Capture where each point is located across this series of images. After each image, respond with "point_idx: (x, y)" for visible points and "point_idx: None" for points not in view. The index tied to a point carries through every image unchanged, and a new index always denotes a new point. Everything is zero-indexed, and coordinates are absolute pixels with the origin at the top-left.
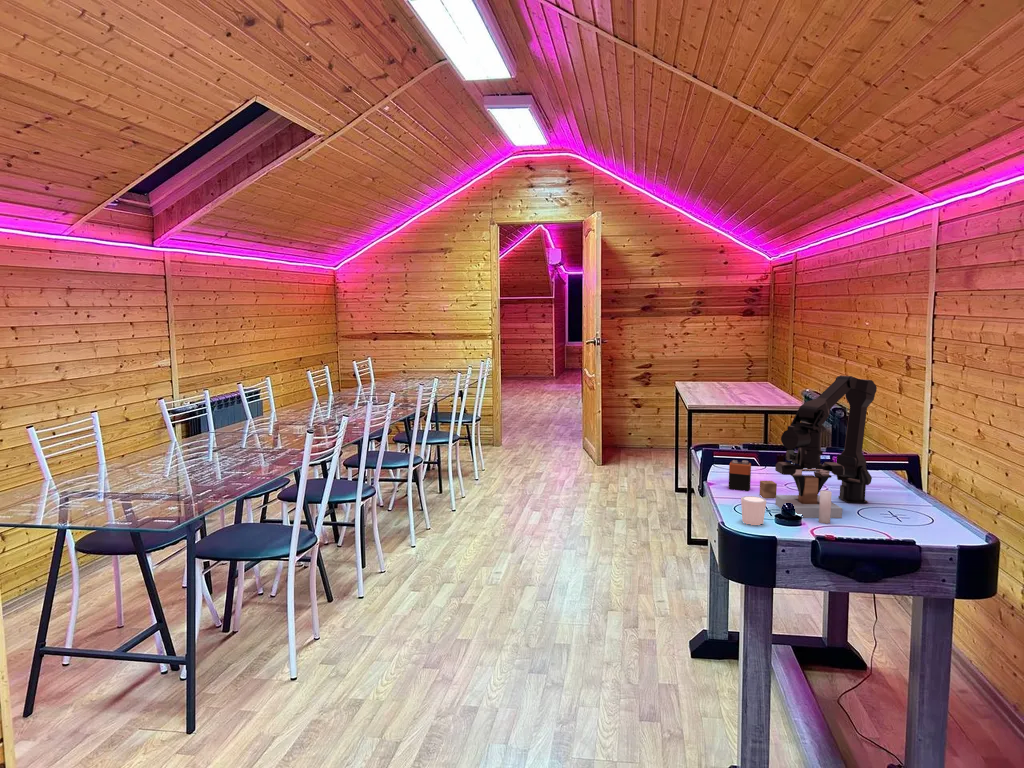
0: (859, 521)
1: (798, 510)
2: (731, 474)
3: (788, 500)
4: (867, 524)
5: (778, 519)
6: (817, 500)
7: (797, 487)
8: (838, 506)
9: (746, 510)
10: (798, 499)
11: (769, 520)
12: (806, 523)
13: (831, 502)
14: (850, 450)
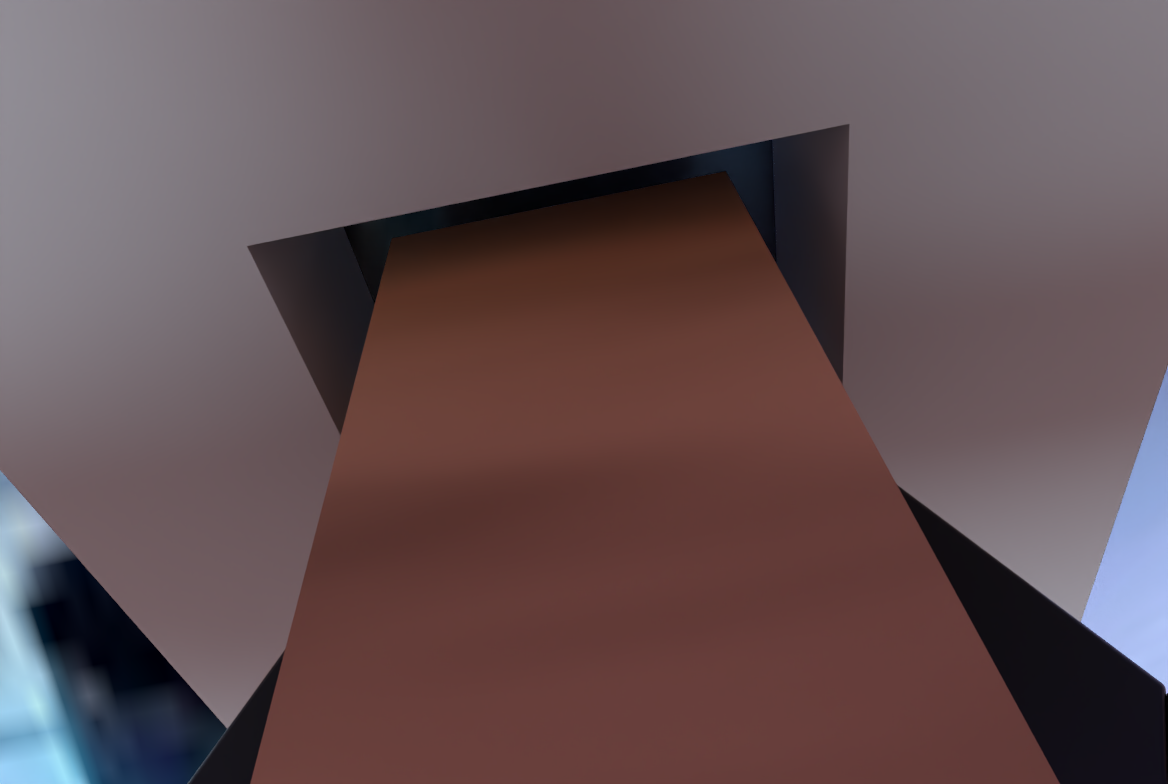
0: (1132, 584)
1: None
2: None
3: (118, 450)
4: (1139, 650)
5: (113, 723)
6: (884, 286)
7: (230, 770)
8: (1073, 593)
9: None
10: (379, 301)
11: (14, 767)
12: None
13: (1136, 385)
14: None
